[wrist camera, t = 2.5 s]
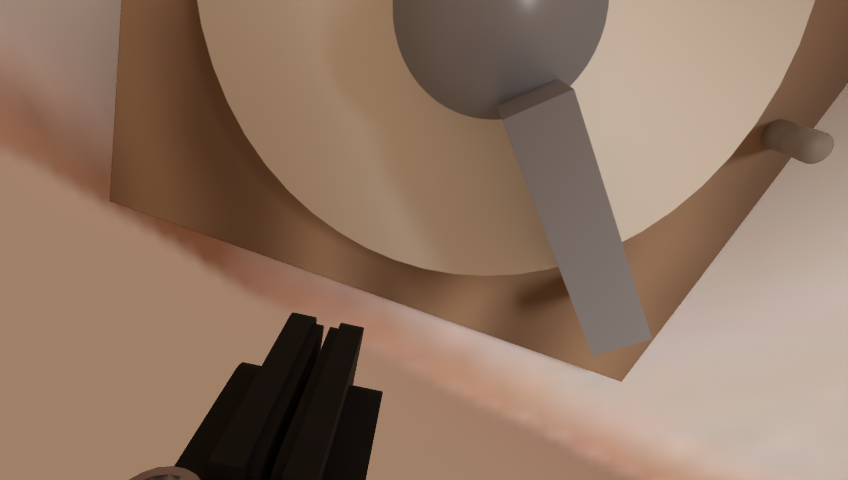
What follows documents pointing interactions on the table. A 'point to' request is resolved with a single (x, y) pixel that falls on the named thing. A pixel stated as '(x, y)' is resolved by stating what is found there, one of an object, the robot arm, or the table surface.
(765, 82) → the dial
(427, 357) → the table surface
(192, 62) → the dial board
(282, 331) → the robot arm
